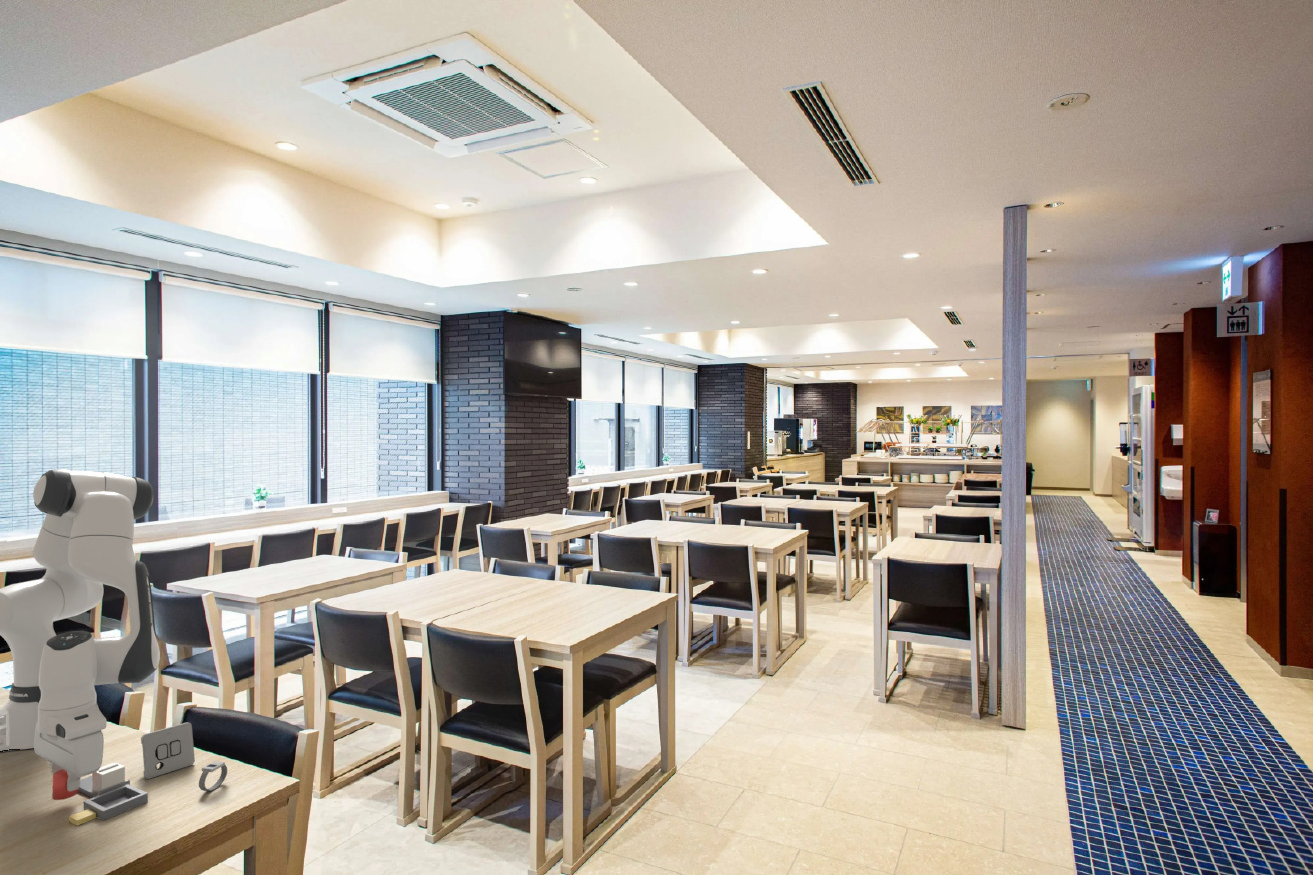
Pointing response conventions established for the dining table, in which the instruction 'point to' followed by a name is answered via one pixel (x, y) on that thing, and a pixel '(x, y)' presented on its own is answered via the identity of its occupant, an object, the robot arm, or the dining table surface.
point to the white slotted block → (108, 776)
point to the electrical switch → (167, 750)
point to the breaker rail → (87, 790)
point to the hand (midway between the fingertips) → (66, 785)
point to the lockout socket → (110, 804)
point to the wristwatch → (211, 768)
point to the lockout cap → (61, 786)
